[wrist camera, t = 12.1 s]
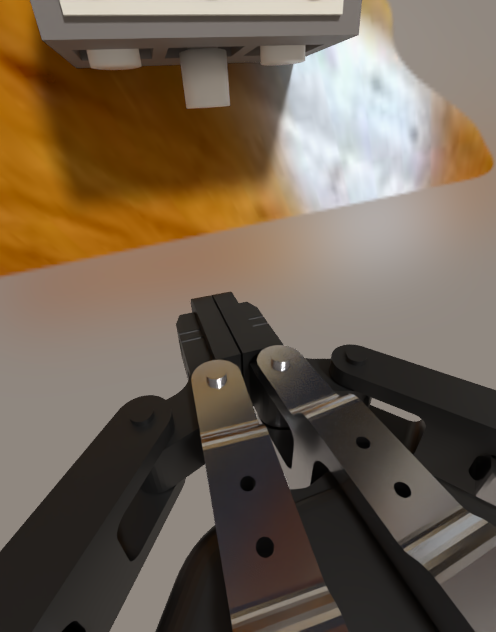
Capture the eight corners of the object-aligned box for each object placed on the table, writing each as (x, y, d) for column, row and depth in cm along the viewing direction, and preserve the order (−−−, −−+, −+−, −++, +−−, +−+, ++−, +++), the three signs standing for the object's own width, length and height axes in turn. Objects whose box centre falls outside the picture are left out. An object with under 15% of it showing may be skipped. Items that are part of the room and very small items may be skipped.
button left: (93, 70, 25) (87, 63, 22) (63, -52, 21) (50, -80, 18) (141, 69, 26) (141, 62, 23) (119, -50, 22) (116, -77, 19)
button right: (255, 66, 27) (268, 59, 24) (251, -44, 24) (266, -67, 21) (294, 64, 28) (312, 58, 25) (296, -42, 25) (317, -64, 22)
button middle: (184, 109, 28) (189, 107, 25) (170, 6, 24) (174, -10, 21) (225, 106, 28) (234, 104, 25) (217, 6, 25) (227, -9, 22)
